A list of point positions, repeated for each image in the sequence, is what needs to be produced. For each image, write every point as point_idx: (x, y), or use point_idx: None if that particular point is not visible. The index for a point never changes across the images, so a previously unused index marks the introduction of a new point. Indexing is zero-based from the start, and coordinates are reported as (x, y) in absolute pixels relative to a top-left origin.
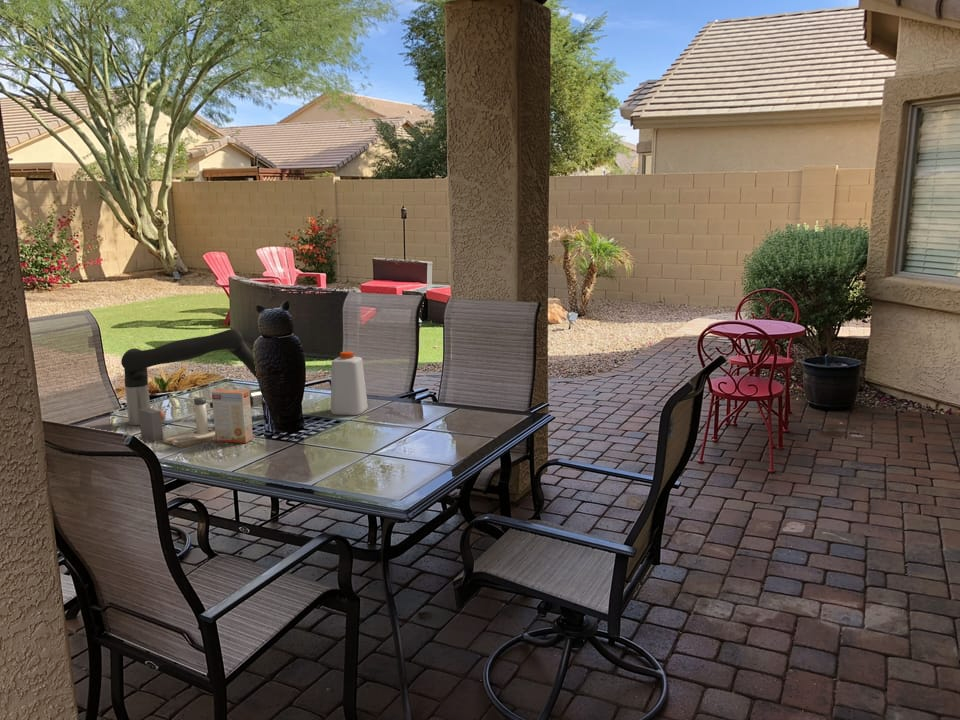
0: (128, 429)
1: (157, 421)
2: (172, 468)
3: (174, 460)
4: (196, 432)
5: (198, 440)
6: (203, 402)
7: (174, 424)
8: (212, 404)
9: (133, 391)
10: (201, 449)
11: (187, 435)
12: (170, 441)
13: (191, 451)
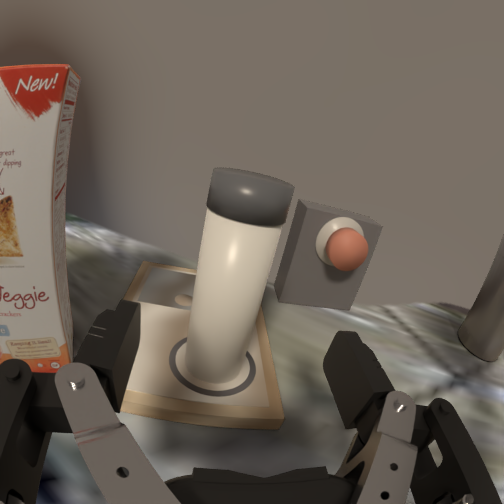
0: (432, 315)
1: (294, 235)
2: (65, 212)
3: (89, 228)
4: None
5: (126, 296)
6: (209, 192)
7: (448, 389)
8: (339, 350)
9: (500, 245)
10: (72, 272)
11: None
12: None
13: (90, 260)
